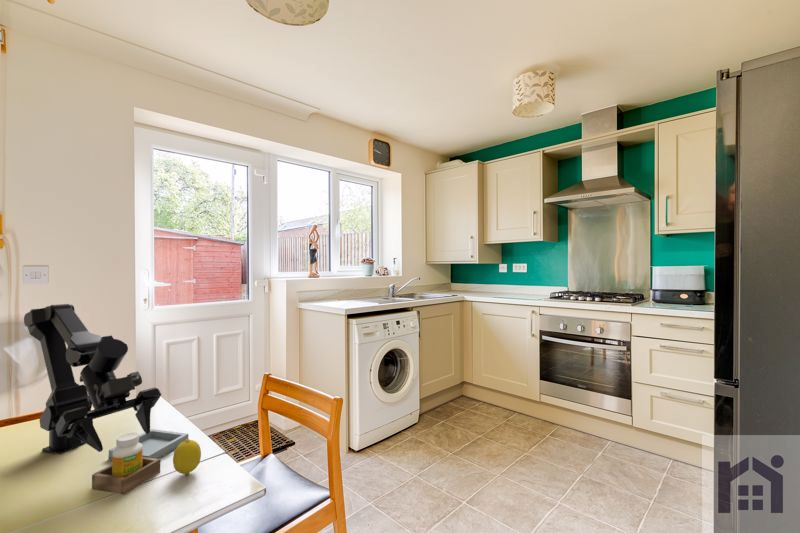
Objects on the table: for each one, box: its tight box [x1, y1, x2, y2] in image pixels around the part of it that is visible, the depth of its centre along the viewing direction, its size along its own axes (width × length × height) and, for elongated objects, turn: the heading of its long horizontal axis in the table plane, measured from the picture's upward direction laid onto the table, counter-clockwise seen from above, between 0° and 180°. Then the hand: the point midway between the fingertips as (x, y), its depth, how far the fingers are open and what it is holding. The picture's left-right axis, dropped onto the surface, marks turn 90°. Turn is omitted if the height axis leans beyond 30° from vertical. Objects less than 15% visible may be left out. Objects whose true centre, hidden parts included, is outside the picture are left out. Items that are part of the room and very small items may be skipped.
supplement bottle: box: [111, 432, 143, 478], centre depth 80 cm, size 5×5×10 cm
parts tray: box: [108, 428, 189, 461], centre depth 93 cm, size 12×12×2 cm
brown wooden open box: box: [91, 456, 161, 496], centre depth 80 cm, size 9×9×3 cm
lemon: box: [172, 438, 202, 476], centre depth 82 cm, size 6×6×8 cm
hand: (126, 441), depth 80 cm, fingers open, 9 cm apart
